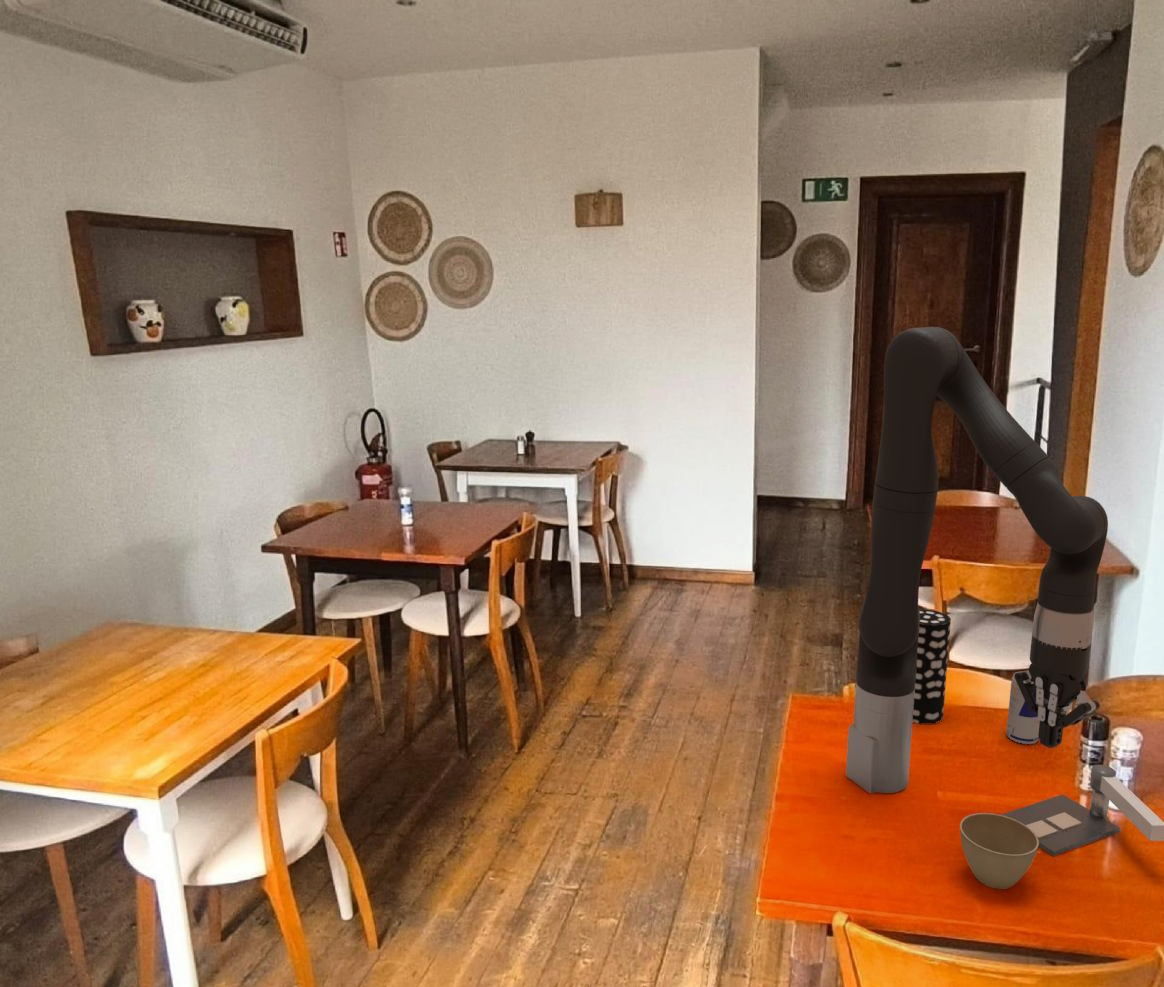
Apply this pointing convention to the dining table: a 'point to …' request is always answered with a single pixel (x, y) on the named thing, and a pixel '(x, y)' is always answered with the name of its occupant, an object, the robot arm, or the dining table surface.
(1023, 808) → the base plate
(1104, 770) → the swing bar
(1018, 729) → the energy drink
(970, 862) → the flower pot
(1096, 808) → the post
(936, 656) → the spotted tube
